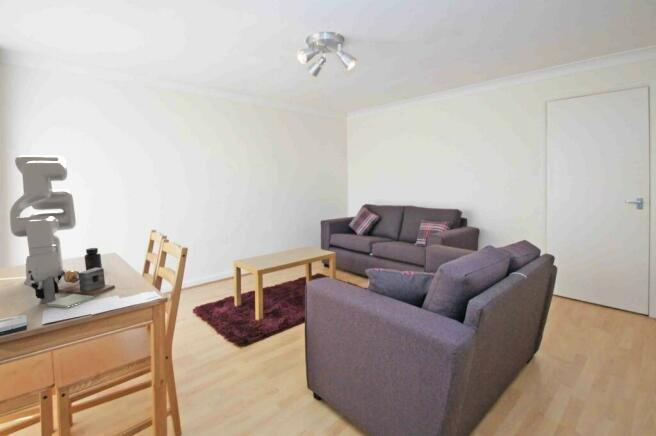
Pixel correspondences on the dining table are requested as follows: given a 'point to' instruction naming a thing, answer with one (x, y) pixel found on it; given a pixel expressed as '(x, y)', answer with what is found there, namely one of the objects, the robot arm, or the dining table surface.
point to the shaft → (71, 276)
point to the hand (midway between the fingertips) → (47, 295)
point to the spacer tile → (70, 300)
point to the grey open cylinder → (48, 290)
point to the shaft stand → (88, 283)
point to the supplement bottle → (92, 259)
